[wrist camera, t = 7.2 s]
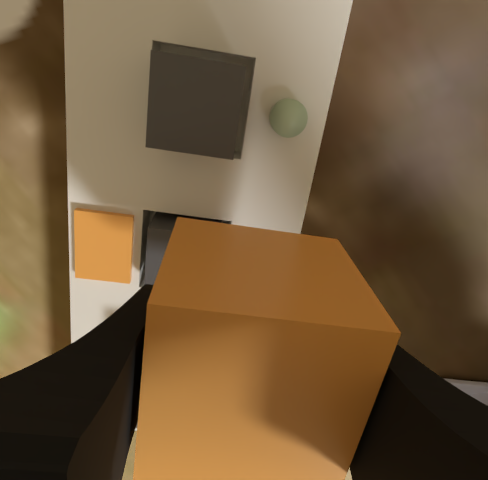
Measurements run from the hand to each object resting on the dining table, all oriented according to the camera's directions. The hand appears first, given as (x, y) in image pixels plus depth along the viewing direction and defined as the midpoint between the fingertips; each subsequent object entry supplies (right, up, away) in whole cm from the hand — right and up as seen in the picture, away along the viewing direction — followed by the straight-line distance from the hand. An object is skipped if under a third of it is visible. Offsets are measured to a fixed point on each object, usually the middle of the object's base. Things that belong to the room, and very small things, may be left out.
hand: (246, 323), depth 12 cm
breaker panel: (-3, +3, +8) cm, 9 cm away
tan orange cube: (0, +1, +1) cm, 1 cm away
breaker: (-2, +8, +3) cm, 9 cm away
